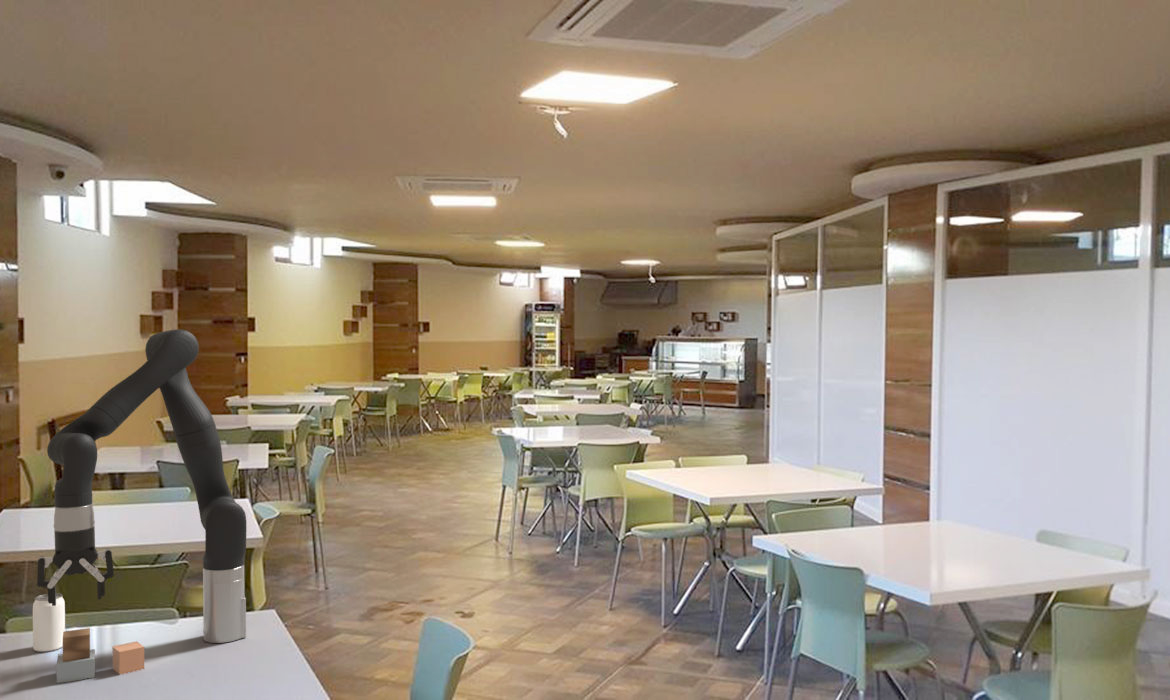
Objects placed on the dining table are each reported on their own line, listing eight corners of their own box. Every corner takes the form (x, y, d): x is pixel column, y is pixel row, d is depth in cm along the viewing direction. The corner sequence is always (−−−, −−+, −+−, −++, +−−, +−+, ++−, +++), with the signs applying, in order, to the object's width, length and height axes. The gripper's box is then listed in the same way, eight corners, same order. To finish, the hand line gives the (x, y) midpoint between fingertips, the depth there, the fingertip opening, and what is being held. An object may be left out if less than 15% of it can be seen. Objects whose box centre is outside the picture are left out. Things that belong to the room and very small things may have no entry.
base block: (94, 667, 204) (94, 649, 204) (94, 677, 197) (94, 658, 197) (58, 672, 200) (58, 654, 200) (56, 683, 194) (56, 664, 194)
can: (50, 653, 213) (50, 601, 213) (26, 651, 214) (25, 599, 214) (71, 644, 219) (71, 593, 219) (47, 642, 220) (47, 592, 220)
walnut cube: (89, 651, 202) (89, 628, 202) (89, 657, 198) (89, 634, 198) (63, 654, 200) (63, 631, 200) (62, 661, 196) (62, 638, 195)
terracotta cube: (137, 663, 206) (136, 641, 206) (144, 669, 202) (144, 646, 202) (112, 669, 203) (112, 646, 203) (119, 675, 199) (119, 652, 199)
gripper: (111, 519, 205) (113, 592, 205) (36, 527, 198) (39, 602, 198) (112, 525, 198) (114, 601, 199) (34, 533, 192) (37, 611, 192)
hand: (76, 601), depth 199 cm, fingers open, 8 cm apart
